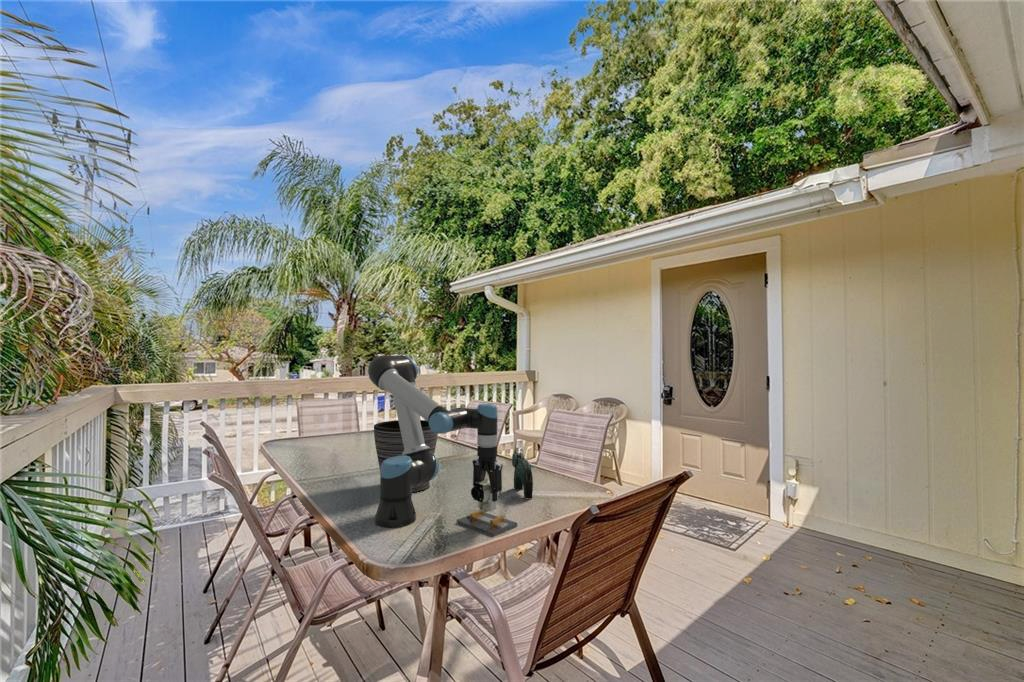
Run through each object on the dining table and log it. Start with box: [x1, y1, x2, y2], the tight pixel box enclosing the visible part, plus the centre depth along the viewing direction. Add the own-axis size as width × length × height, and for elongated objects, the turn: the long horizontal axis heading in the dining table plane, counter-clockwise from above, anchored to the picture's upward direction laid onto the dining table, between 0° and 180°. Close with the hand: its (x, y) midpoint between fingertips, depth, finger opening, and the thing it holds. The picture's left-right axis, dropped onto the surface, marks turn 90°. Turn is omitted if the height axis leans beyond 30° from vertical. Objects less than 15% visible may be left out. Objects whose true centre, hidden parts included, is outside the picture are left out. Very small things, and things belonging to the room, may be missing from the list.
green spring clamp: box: [511, 448, 534, 499], centre depth 213 cm, size 20×6×20 cm, turn 16°
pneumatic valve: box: [470, 478, 503, 513], centre depth 173 cm, size 6×12×12 cm, turn 134°
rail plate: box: [456, 509, 518, 537], centre depth 173 cm, size 13×19×4 cm
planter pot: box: [373, 419, 439, 494], centre depth 220 cm, size 30×30×30 cm
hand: (487, 507), depth 173 cm, fingers closed on pneumatic valve, 5 cm apart
